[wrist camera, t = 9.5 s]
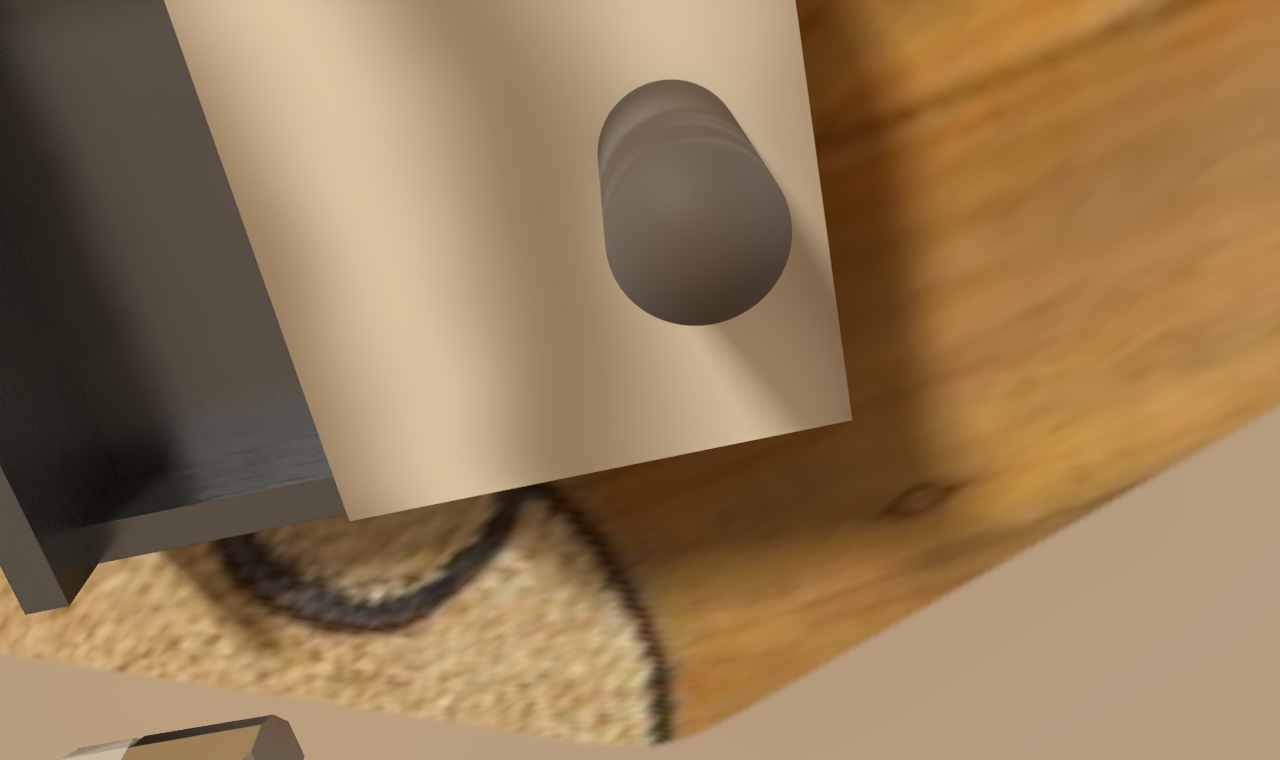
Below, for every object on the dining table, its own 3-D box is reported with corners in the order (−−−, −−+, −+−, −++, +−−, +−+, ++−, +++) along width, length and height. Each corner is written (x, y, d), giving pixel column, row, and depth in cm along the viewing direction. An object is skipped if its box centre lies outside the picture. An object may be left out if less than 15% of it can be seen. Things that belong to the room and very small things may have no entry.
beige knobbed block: (718, -230, 27) (831, -307, 15) (800, 314, 33) (927, 565, 21) (224, -121, 27) (-40, -113, 16) (391, 398, 33) (290, 691, 21)
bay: (705, -317, 27) (739, -364, 22) (807, 357, 35) (850, 449, 29) (-173, -121, 28) (-352, -119, 23) (109, 499, 35) (25, 614, 30)
